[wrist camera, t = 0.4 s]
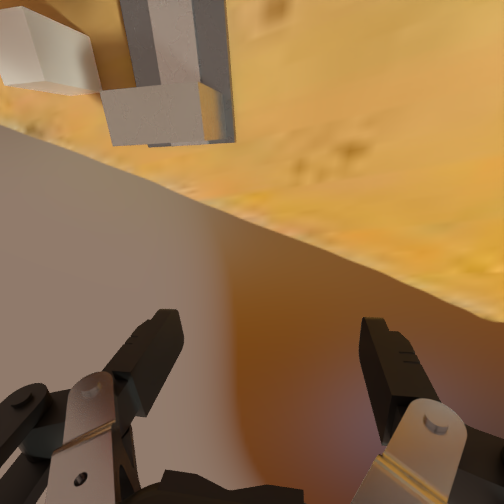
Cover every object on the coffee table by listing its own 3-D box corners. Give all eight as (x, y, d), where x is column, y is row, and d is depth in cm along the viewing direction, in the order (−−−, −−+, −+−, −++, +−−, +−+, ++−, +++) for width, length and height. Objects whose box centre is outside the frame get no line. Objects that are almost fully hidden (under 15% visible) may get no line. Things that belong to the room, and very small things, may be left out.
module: (52, 41, 34) (-24, 13, 26) (89, 36, 33) (22, 5, 25) (68, 95, 36) (2, 85, 28) (102, 92, 36) (45, 80, 28)
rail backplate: (104, -101, 28) (12, -213, 19) (216, -127, 26) (172, -265, 17) (152, 147, 37) (105, 151, 28) (236, 142, 35) (215, 145, 26)
